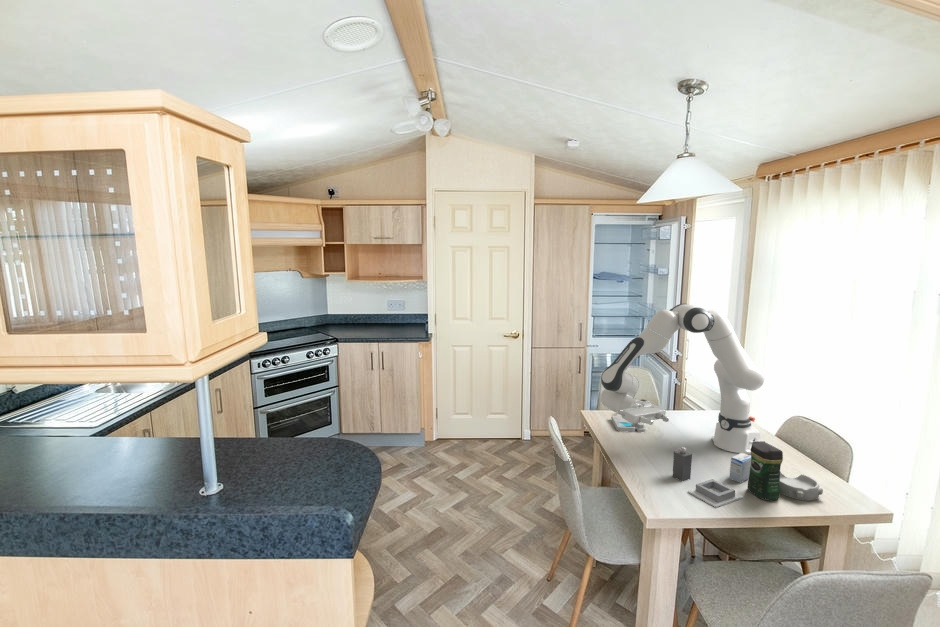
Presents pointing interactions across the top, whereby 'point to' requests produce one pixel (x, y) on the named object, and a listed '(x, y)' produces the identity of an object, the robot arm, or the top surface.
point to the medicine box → (740, 467)
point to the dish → (800, 487)
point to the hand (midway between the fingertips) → (660, 421)
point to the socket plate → (715, 493)
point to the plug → (682, 464)
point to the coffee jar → (765, 470)
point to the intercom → (627, 425)
